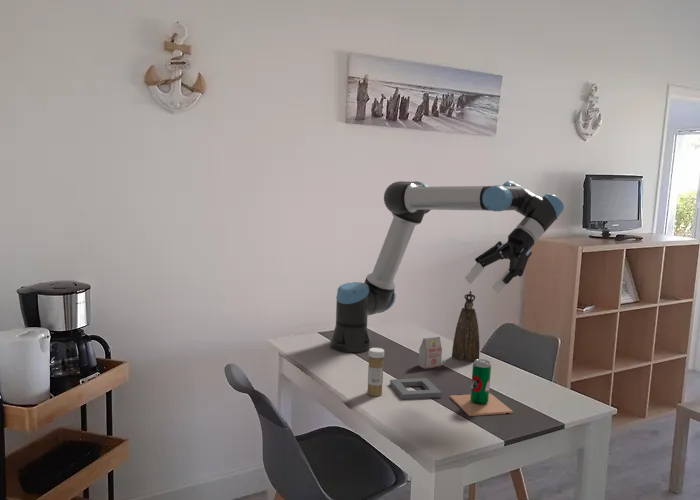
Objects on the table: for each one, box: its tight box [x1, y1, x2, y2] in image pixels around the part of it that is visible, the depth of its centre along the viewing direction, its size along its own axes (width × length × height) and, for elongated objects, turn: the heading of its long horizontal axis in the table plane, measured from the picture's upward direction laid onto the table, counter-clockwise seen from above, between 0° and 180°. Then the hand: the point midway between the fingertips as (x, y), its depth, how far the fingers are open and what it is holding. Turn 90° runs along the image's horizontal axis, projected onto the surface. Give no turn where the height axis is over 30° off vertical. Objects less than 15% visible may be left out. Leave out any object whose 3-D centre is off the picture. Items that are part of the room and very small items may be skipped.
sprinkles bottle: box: [366, 347, 385, 397], centre depth 167 cm, size 5×5×13 cm
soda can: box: [470, 358, 492, 405], centre depth 163 cm, size 5×5×12 cm
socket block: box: [389, 377, 443, 400], centre depth 172 cm, size 12×12×2 cm
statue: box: [451, 290, 480, 362], centre depth 204 cm, size 9×8×25 cm
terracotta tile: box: [449, 392, 514, 417], centre depth 163 cm, size 13×13×1 cm
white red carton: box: [418, 336, 443, 370], centre depth 195 cm, size 4×7×10 cm, turn 118°
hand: (480, 285), depth 172 cm, fingers open, 13 cm apart
